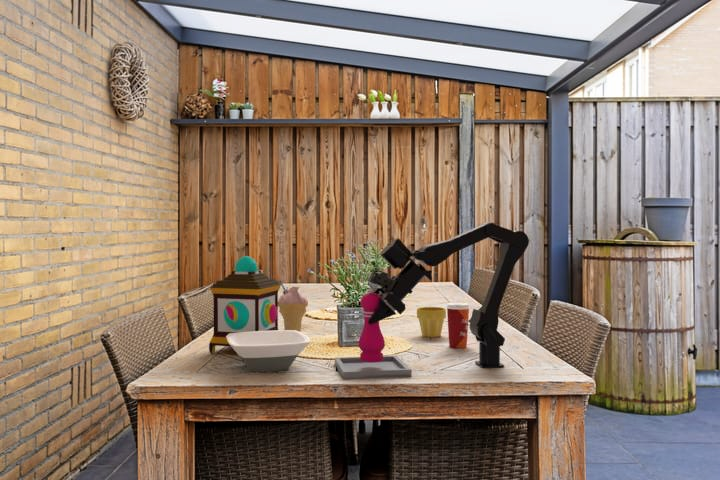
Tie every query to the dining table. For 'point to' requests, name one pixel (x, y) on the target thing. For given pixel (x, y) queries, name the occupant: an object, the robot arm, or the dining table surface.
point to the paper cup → (458, 324)
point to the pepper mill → (371, 330)
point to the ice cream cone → (292, 308)
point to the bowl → (268, 348)
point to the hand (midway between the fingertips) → (367, 322)
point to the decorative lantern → (244, 302)
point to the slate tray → (372, 368)
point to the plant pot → (431, 320)
